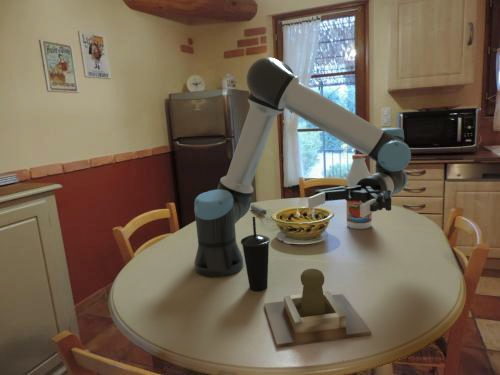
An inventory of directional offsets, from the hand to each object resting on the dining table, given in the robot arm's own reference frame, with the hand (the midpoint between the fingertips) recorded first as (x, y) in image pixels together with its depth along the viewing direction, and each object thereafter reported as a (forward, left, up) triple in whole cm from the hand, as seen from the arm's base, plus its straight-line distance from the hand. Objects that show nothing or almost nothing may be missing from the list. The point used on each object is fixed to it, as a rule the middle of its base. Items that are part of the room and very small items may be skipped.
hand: (334, 207), depth 84 cm
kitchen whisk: (-6, +75, -25) cm, 79 cm away
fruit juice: (+28, +52, -24) cm, 64 cm away
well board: (-8, -6, -24) cm, 26 cm away
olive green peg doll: (-7, -6, -23) cm, 25 cm away
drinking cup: (-18, +12, -24) cm, 32 cm away
